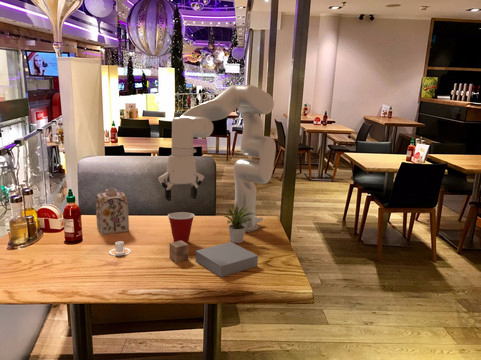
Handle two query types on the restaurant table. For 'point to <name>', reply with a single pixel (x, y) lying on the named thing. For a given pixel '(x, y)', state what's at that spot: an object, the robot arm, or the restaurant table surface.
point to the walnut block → (178, 251)
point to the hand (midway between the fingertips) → (181, 199)
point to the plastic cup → (181, 225)
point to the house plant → (237, 223)
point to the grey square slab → (226, 259)
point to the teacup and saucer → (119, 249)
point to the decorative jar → (112, 212)
